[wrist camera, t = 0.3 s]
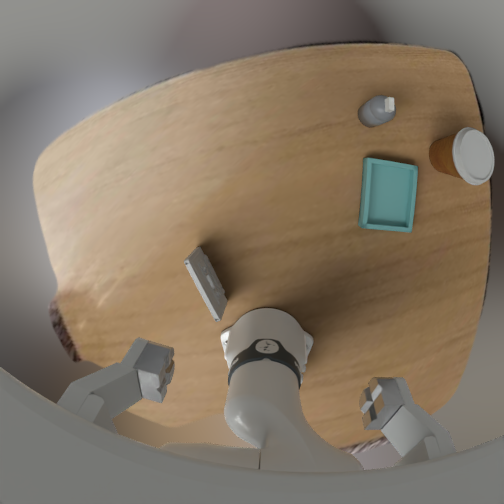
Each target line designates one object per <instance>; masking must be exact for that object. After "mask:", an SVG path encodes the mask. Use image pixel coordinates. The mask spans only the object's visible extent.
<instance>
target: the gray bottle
mask: <svg viewBox="0 0 504 504" xmlns="http://www.w3.org/2000/svg"><path fill="white" fill-rule="evenodd" d="M395 114H396V107H395V104H394V98H392V97H387V96H383V95H378V96H375V97H373V98H372V99H371V100H369V101H368V102H366V103H365V104H363V105H362V106H361V107H360V108H359V110H358V118H359V120H360V122H361V123H362V124H363V125H365V126H367V127H375V126H378V125H380V124H383V123H386V122H388V121H390V120H392V119H393V118H394V116H395Z"/></svg>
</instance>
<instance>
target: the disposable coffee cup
mask: <svg viewBox="0 0 504 504" xmlns="http://www.w3.org/2000/svg"><path fill="white" fill-rule="evenodd" d="M429 157H430V161H431V164H432V165H433V167H434V168H435V169H436V170H437V171H439V172H443V173H446V174H449V175H452V176H455V177H458V178H461V179H464V180H465V181H466V182H468V183H470V184H472V185H480V184H482V183H483V182H485V181H487V180H488V179H489V178H490V176H491V174H492V172H493V169H494V153H493V149H492V146H491V144H490V142H489V140H488V139H487V137H486V136H485V135H484V134H483V133H481V132H480V131H478V130H476V129H474V128H471V127H467V128H463V129H462V130H461V131H459V132H458V133H456V134H453V135H451V136H448V137H446V138H443V139H440V140H438V141H435V142H434V143H433V144H432V145H431V147H430V150H429Z"/></svg>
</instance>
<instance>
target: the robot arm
mask: <svg viewBox="0 0 504 504" xmlns="http://www.w3.org/2000/svg"><path fill="white" fill-rule="evenodd" d="M226 340H228V341H226ZM221 341H222V345H223V349H224V353H225V359H226V360H227V364H228V367H229V373H228V376H229V377H228V385H229V389H228V394H227V398H226V403H225V408H224V416H225V419H226V422H227V424H228V426H229V427H230V428H231V429H232V431H233V432H234V433H235V434H236V435H237V436H238V437H239V438H241V439H243V440H244V441H246V442H248V443H250V444H252V445H254V446H255V447H257V448H258V449H255V448H243V447H233V446H225V445H218V444H211V443H189V442H188V443H187V442H186V443H185V442H169V443H166V444H164V445H163V446H161V447H160V448H156V447H153V446H150V445H146V444H144V443H141V442H138V441H135V440H133V439H130V438H127V437H124V436H122V435H119V434H117V430H116V428H115V426H114V424H113V422H112V418H114V417H115V416H117V415H118V414H120V413H121V412H123V411H124V410H126V409H127V408H129V407H130V406H132V405H133V404H135V403H136V402H138V401H139V400H141V399H142V398H145V399H149V400H152V401H156V402H159V403H162V402H163V399H164V397H165V395H166V392H167V386H166V385H168V384H169V383H170V382H171V380H172V377H173V373H174V361H173V360H172V358H173V356H174V348H173V347H169V346H166V345H162V344H159V343H156V342H152V341H149V340H145V339H142V338H139V337H138V338H137V339H136V340H135V341H134V343H133V344H132V346H131V347H130V349H129V350H128V352H127V354H126V355H125V357H124V358H123V360H122V362H121V363H115V364H113V365H110V366H108V367H106V368H104V369H102V370H99V371H97V372H95V373H92V374H90V375H88V376H86V377H83V378H81V379H79V380H76V381H74V382H72V383H71V384H70V385H69V387H68V388H67V390H66V391H65V393H64V394H63V395H62V397H61V398H60V400H59V401H58V403H57V404H55V403H53V402H52V401H50V400H48V399H46V398H45V397H43V396H42V395H40V394H38V393H37V392H35V391H34V390H32V389H31V388H29V387H27V386H26V385H24V384H23V383H22V382H20V381H18V380H17V379H16V378H14V377H13V376H12V375H10V374H9V373H7V372H6V371H5V370H4V369H2V368H1V367H0V504H504V435H503V436H500V437H498V438H495V439H493V440H490V441H488V442H485V443H483V444H480V445H477V446H474V447H472V448H469V449H466V450H463V451H459V452H456V450H455V447H454V444H453V441H452V438H451V436H450V433H449V431H448V430H446V429H445V428H444V427H443V426H442V425H441V424H439V423H438V422H437V421H436V420H435V419H433V418H432V417H431V416H430V415H429V414H428V413H427V412H426V411H424V410H423V409H422V408H421V407H420V406H419V405H417V404H414V401H413V399H412V396H411V393H410V391H409V388H408V386H407V383H406V381H405V379H404V378H403V377H394V378H392V377H373V378H372V379H371V380H370V381H369V383H368V384H369V387H367V388H366V389H364V390H363V392H362V394H361V396H360V400H359V405H360V410H361V411H362V412H363V413H364V415H363V417H362V420H363V425H364V430H380V429H382V430H381V431H382V432H383V434H384V435H385V436H386V437H387V439H388V440H389V441H390V442H391V444H392V445H393V446H394V447H395V449H396V450H397V451H398V452H399V454H400V455H401V456H402V458H401V459H400V460H399V461H398V462H396V463H395V465H394V467H387V468H380V469H372V470H364V468H363V466H362V465H361V463H360V462H359V461H358V460H357V459H356V458H355V457H354V456H353V455H352V454H350V453H347V452H344V451H342V450H340V449H338V448H336V447H334V446H332V445H331V444H329V443H328V442H326V441H325V440H324V439H322V438H321V437H320V436H319V435H318V434H317V433H316V432H315V431H314V430H313V429H312V428H311V426H310V425H309V424H308V422H307V420H306V419H305V417H304V414H303V411H302V406H301V401H300V395H299V389H300V386H301V383H302V381H303V374H301V372H305V370H306V366H304V365H305V364H306V363H307V357H308V354H309V352H310V350H311V347H312V345H313V337H312V336H311V335H310V334H308V333H307V332H305V331H303V329H302V328H301V327H300V325H299V323H298V322H297V321H296V320H295V319H294V318H293V317H292V316H291V315H289V314H288V313H286V312H284V311H281V310H278V309H272V308H261V309H256V310H253V311H250V312H248V313H246V314H245V315H243V316H242V317H241V318H239V320H238V321H237V322H236V323H235V324H234V325H233V326H232V327H230V328H228V329H226V330H224V331H223V332H222V333H221ZM306 345H307V346H306Z"/></svg>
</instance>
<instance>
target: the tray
mask: <svg viewBox="0 0 504 504" xmlns="http://www.w3.org/2000/svg"><path fill="white" fill-rule="evenodd" d="M417 174H418V166H414V165H409V164H403V163H398V162H392V161H386V160H380V159H373V158H363V175H362V189H361V202H360V213H359V222H358V226H360V227H361V228H367V229H379V230H390V231H401V232H412V225H413V217H414V209H415V199H416V188H417Z"/></svg>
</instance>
